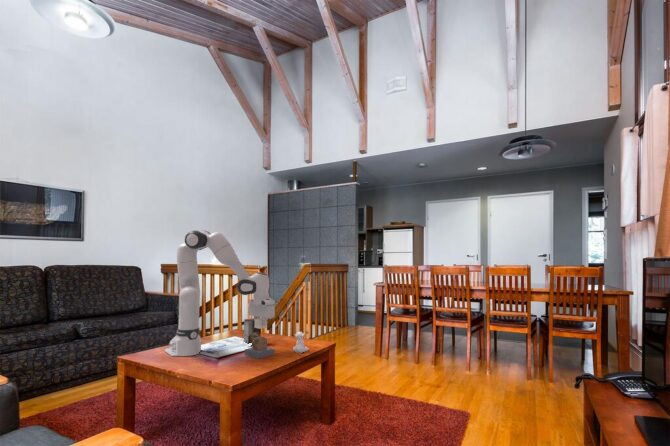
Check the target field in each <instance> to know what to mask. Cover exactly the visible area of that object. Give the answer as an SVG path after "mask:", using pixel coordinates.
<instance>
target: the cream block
mask: <svg viewBox="0 0 670 446" xmlns="http://www.w3.org/2000/svg"><path fill="white" fill-rule="evenodd" d="M262 322H264V319H263V318H262V317H258V318H257V319H255V325H254V328H258V329H261V330H262V329H265V328H267V327H268V321H267V322H266V326H263V325H262Z"/></svg>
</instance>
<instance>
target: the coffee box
mask: <svg viewBox="0 0 670 446" xmlns="http://www.w3.org/2000/svg"><path fill="white" fill-rule="evenodd" d="M243 323H244V324H243V327H244V328H243V343H244V342H245V343H247V344H249V343H252V341H253V338H257V337H262V329H258V328H254V325H255V319H254V317H253V318H245V319H244V321H243Z"/></svg>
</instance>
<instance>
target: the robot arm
mask: <svg viewBox="0 0 670 446" xmlns="http://www.w3.org/2000/svg"><path fill="white" fill-rule="evenodd" d="M206 248H208V249H209V250H210V251H211V252H212V254H213V256H214V257H215V259H217V261H218V262H220V264H222V265H224V266H227V267H228V268H230V269H231V270H232V271H233V272H234V273H235V275H236V277H237V278H238V280H239V281H238V282H237V284H236V290H237V292H238V293H239V294H240V295H242V296H248V295H253V299H252V298H251V300H249V304H248V308H247V315H248V316H253V318H254V319H257V318H263V319H264V322H262V325H263V326H266V322H267V323H268V320H271V319H274V318H275V316H276V315H275V314H276V312H275V311H276V308H275V304H276V301H275V300H274V299H272V298H271V297H270V293H269V290H270V279H269V275H268V274H267V273H265V272H259V271H258V272H255V273H254V274H252V275H251V274H249V272H248V271H247V270H246V268H245V266H244V265H243V264H242V262H241V261H240V259H239V257H238V255H237V254H236V251H235V249H234V247H233V246H232V245H231V243H230V241H229V240H228V239H227V238H226V236H224V234H223V233H221V232H220V231H215V232H212V233H210V232H209V231H207V230H203V229H196V230H191V231H189V232H188V233H187V234H186V235H185V237H184V242H182V243H181V244H179V245H178V247H177V250H176V264H177V266H176V267H177V275H178V282H179V285H178V286H179V295H178V298H179V299H178V326H177V327H178V328H177V329H176V333H175V336H174V337H173V338H172V339H171V340H170V341H169V343H168V348H165V349H164V352H165V353H167V354H168V355H169V356H171V357H190V356H195V355H198V354H200V353H201V352H200V350H201V348H202V339H201V336H200V301H201V300H200V299H201V286H200V278H199V277H200V276H199V266H198V258H197V257H198V255H197V254H198V252H199V251H203V250H204V249H206ZM199 352H200V353H199Z"/></svg>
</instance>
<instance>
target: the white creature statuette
mask: <svg viewBox="0 0 670 446" xmlns="http://www.w3.org/2000/svg"><path fill="white" fill-rule="evenodd" d="M304 335H305V334H304V333H303V332H302V331H297V332H296V333H295V334H294V337H295V339H297V340H296V342H295V346H293V348H292V351H293V352H295V353H296V354H303V352H304V353H307V352H308V351H309V348H310V347H308V346H305V341H304V337H305V336H304Z"/></svg>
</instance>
